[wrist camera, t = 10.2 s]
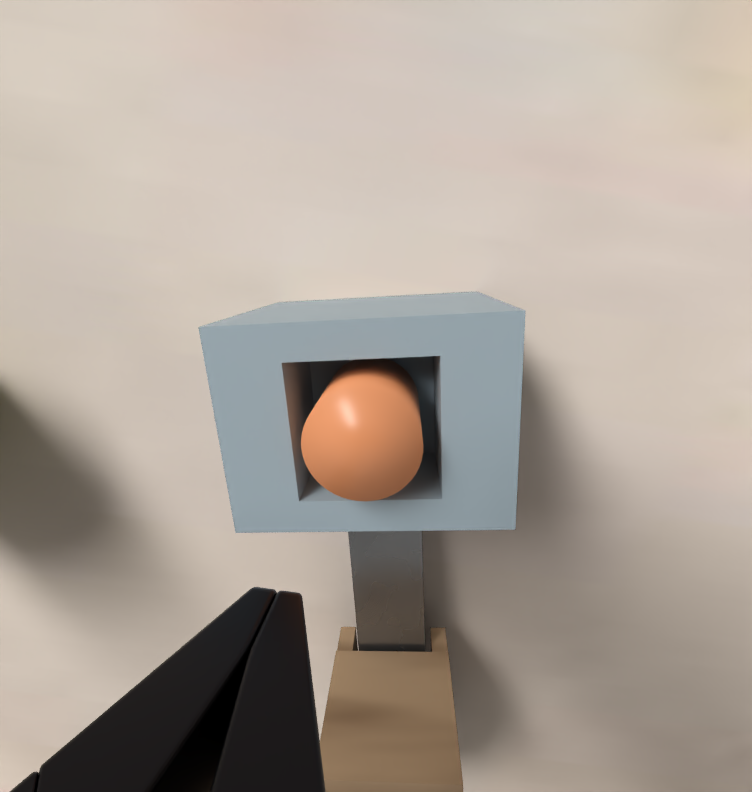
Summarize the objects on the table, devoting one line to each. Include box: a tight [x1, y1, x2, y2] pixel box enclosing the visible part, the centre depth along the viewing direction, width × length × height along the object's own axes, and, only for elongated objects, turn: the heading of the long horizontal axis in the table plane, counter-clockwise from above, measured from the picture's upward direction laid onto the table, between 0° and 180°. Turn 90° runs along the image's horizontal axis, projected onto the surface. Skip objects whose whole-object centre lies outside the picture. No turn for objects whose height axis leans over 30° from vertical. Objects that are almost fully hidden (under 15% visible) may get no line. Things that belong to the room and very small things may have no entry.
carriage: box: [320, 627, 463, 792], centre depth 18 cm, size 5×5×6 cm
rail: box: [348, 531, 425, 652], centre depth 19 cm, size 18×5×5 cm, turn 3°
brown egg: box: [301, 358, 423, 501], centre depth 12 cm, size 3×3×4 cm
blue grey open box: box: [199, 292, 525, 533], centre depth 15 cm, size 6×8×7 cm
